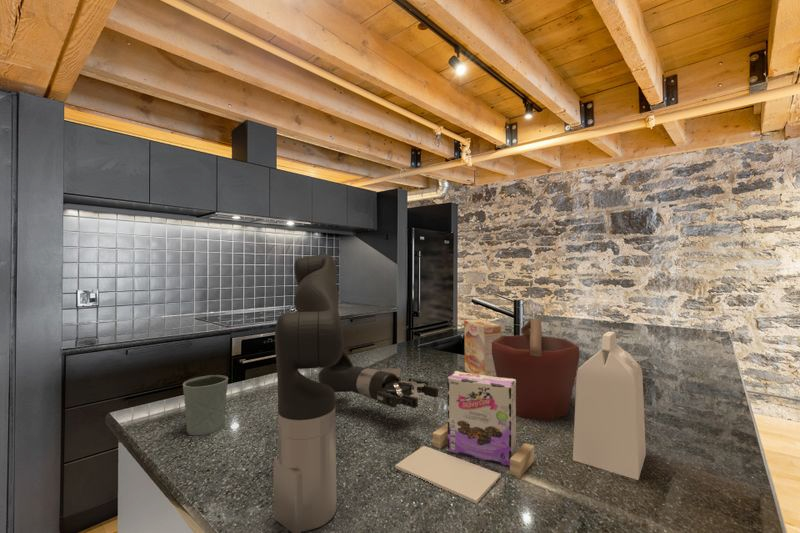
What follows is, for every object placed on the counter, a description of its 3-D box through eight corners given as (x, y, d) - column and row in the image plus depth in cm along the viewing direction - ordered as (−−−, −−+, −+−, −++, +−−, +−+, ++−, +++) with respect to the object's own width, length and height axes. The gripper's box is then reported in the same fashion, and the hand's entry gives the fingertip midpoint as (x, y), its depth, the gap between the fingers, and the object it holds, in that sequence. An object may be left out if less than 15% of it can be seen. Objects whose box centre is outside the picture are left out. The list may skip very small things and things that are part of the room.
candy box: (446, 452, 80) (445, 376, 80) (455, 440, 85) (454, 369, 85) (511, 467, 74) (510, 386, 74) (517, 454, 79) (516, 377, 79)
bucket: (508, 388, 120) (507, 312, 120) (583, 401, 109) (583, 316, 109) (484, 415, 99) (483, 323, 99) (574, 434, 88) (574, 329, 88)
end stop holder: (520, 477, 70) (519, 462, 70) (432, 446, 83) (432, 432, 83) (534, 460, 76) (534, 445, 76) (451, 433, 89) (451, 420, 89)
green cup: (177, 439, 88) (177, 388, 87) (190, 421, 97) (189, 376, 97) (224, 433, 90) (223, 384, 90) (231, 416, 100) (231, 372, 100)
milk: (586, 438, 86) (585, 327, 86) (645, 454, 78) (645, 332, 78) (572, 460, 76) (571, 335, 76) (638, 480, 69) (637, 342, 69)
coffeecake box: (464, 370, 141) (463, 319, 141) (480, 368, 143) (480, 318, 143) (484, 382, 127) (483, 325, 127) (502, 380, 129) (501, 324, 129)
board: (476, 504, 63) (476, 500, 63) (395, 468, 74) (395, 465, 74) (500, 477, 71) (500, 474, 71) (423, 448, 82) (423, 445, 82)
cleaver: (400, 397, 114) (400, 390, 114) (369, 397, 114) (369, 390, 114) (401, 370, 144) (401, 365, 144) (376, 370, 144) (376, 365, 144)
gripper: (358, 377, 93) (409, 390, 83) (394, 364, 104) (443, 375, 94) (358, 407, 93) (409, 423, 83) (394, 391, 104) (443, 404, 94)
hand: (427, 398), depth 88 cm, fingers open, 8 cm apart
